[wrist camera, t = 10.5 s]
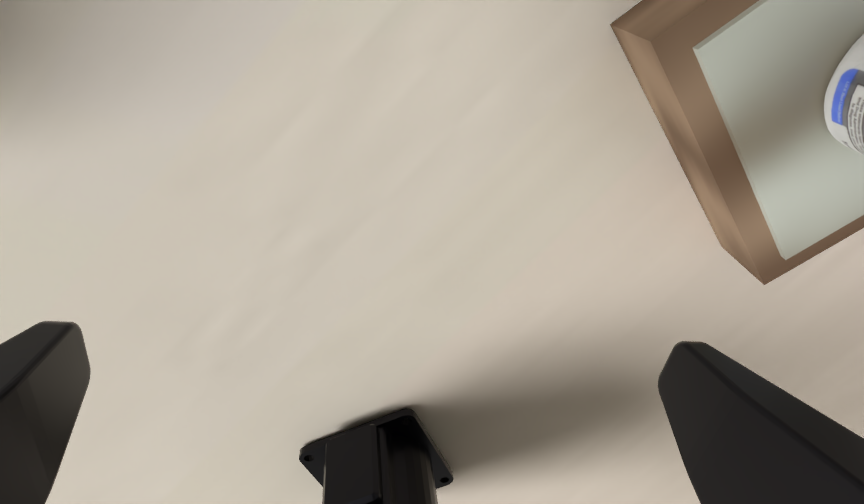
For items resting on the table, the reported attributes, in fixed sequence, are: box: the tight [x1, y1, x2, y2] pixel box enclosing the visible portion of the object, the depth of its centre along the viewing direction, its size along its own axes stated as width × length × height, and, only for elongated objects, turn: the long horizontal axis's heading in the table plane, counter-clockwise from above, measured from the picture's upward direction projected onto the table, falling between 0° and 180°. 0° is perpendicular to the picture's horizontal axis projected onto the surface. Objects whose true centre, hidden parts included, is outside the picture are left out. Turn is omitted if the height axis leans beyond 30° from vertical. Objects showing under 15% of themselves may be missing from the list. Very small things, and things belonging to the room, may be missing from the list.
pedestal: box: [610, 0, 864, 285], centre depth 19 cm, size 12×12×3 cm
